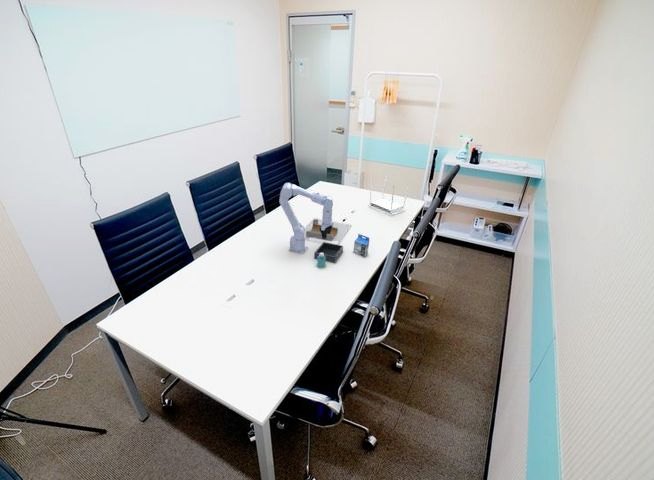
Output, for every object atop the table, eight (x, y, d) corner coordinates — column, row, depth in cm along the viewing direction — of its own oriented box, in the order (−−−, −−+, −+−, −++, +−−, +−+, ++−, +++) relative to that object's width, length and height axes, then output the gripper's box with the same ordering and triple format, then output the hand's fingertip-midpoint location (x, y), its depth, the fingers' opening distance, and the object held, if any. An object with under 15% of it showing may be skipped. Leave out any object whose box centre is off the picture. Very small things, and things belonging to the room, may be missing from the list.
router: (382, 201, 291) (386, 174, 278) (405, 210, 274) (410, 182, 261) (367, 206, 281) (370, 178, 268) (389, 216, 264) (394, 186, 251)
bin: (314, 258, 208) (314, 252, 206) (323, 247, 220) (323, 241, 218) (335, 263, 204) (335, 257, 201) (342, 251, 216) (343, 245, 214)
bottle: (315, 266, 200) (316, 254, 195) (318, 262, 204) (319, 250, 199) (323, 268, 198) (324, 256, 194) (326, 264, 202) (327, 252, 198)
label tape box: (352, 252, 215) (354, 235, 209) (356, 250, 218) (358, 233, 211) (364, 257, 210) (366, 239, 204) (367, 254, 213) (370, 237, 206)
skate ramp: (296, 238, 232) (296, 228, 228) (314, 218, 259) (314, 209, 255) (336, 245, 222) (337, 235, 218) (350, 225, 250) (351, 215, 246)
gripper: (329, 222, 197) (328, 242, 205) (337, 213, 209) (335, 232, 216) (318, 220, 200) (317, 240, 207) (326, 211, 211) (325, 230, 218)
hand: (326, 236), depth 212 cm, fingers open, 7 cm apart
